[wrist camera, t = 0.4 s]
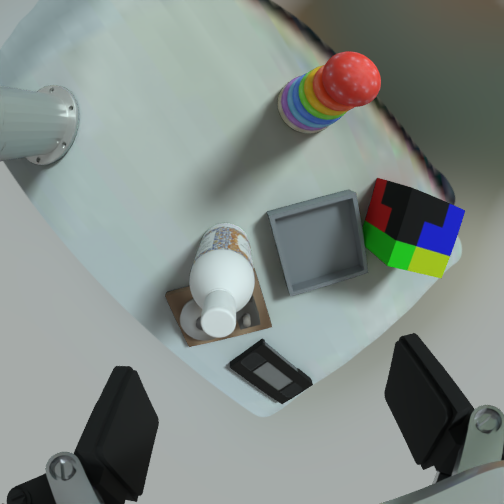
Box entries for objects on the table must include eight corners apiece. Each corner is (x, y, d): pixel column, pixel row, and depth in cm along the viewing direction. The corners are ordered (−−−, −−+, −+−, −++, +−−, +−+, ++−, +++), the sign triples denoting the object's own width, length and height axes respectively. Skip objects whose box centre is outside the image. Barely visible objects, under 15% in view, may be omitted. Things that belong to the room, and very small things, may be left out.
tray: (287, 287, 45) (290, 296, 43) (266, 211, 41) (268, 216, 38) (361, 265, 45) (368, 272, 42) (348, 189, 41) (355, 192, 38)
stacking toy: (331, 137, 38) (399, 134, 20) (274, 129, 37) (305, 114, 20) (336, 85, 35) (404, 49, 18) (279, 74, 35) (313, 22, 17)
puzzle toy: (426, 196, 41) (465, 210, 32) (408, 253, 45) (441, 278, 35) (377, 177, 40) (412, 188, 31) (358, 240, 43) (387, 265, 34)
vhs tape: (262, 336, 49) (263, 343, 47) (311, 377, 53) (313, 384, 51) (229, 360, 50) (229, 367, 48) (280, 397, 54) (282, 404, 52)
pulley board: (189, 342, 48) (185, 366, 42) (166, 292, 44) (157, 312, 39) (271, 322, 47) (275, 346, 41) (254, 268, 44) (257, 286, 38)
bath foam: (258, 255, 43) (274, 338, 24) (215, 275, 44) (203, 366, 25) (236, 213, 41) (236, 271, 22) (192, 235, 42) (159, 307, 23)
